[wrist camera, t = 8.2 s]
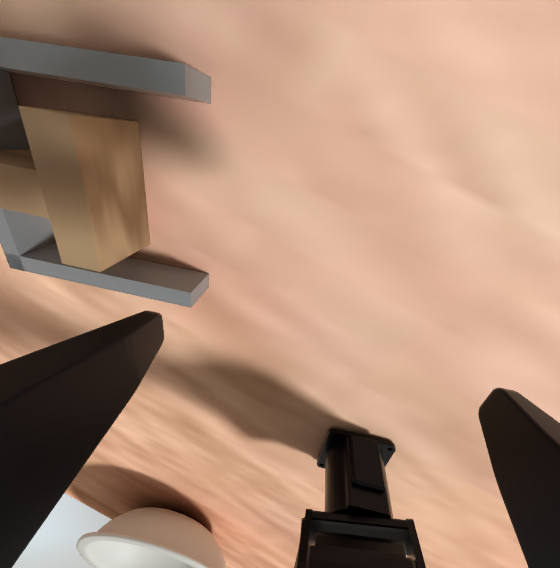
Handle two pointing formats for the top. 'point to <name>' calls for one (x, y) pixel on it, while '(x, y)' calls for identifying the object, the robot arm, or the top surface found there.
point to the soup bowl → (151, 542)
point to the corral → (11, 135)
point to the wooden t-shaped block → (80, 184)
